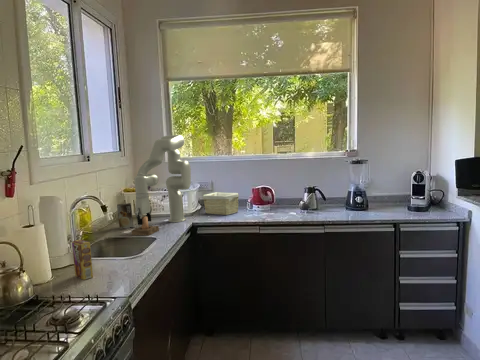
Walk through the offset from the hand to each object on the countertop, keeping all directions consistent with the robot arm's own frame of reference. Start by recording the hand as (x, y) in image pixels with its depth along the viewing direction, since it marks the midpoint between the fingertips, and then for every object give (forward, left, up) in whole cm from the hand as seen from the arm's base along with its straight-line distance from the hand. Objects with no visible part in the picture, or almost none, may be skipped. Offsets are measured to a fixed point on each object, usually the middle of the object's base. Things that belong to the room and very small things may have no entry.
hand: (144, 222), depth 230 cm
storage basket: (-63, +27, -7) cm, 69 cm away
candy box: (+73, +16, -6) cm, 75 cm away
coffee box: (-13, -23, -6) cm, 27 cm away
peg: (0, 0, -6) cm, 6 cm away
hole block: (0, 0, -6) cm, 6 cm away
